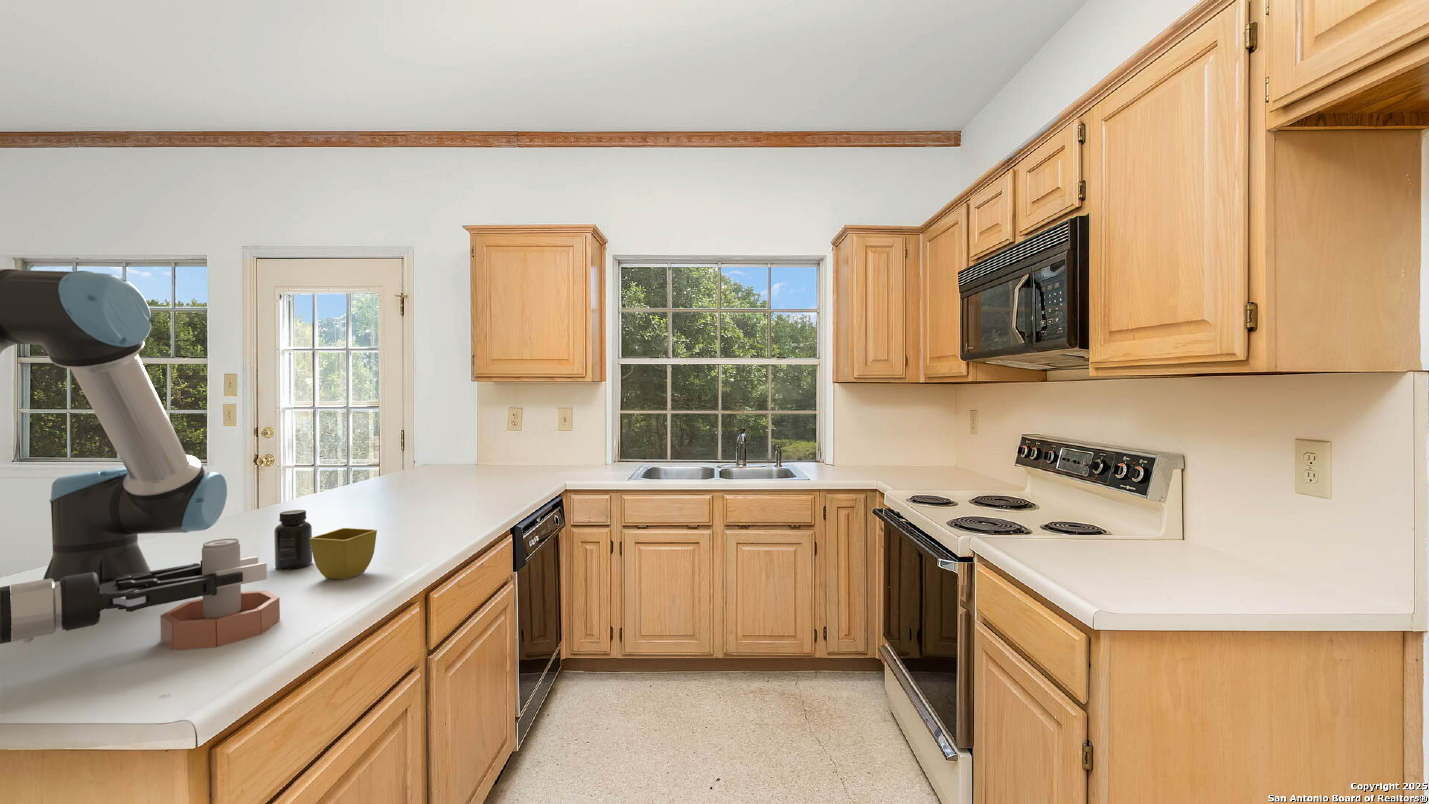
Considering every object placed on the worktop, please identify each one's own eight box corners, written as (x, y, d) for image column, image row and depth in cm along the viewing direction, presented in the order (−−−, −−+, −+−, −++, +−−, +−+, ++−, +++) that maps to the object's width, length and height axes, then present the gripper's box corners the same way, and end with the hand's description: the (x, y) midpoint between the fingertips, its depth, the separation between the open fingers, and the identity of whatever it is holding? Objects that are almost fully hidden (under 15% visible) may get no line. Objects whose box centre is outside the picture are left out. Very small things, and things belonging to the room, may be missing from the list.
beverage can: (217, 610, 101) (216, 538, 101) (248, 609, 101) (247, 538, 101) (195, 621, 96) (193, 546, 96) (227, 620, 97) (226, 545, 96)
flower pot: (346, 584, 122) (345, 539, 121) (309, 581, 123) (308, 537, 123) (378, 571, 130) (378, 529, 130) (343, 568, 132) (343, 527, 132)
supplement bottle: (319, 563, 136) (319, 509, 136) (289, 571, 130) (288, 516, 129) (297, 560, 138) (296, 507, 138) (267, 568, 132) (266, 513, 132)
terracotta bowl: (141, 652, 91) (140, 625, 91) (201, 617, 104) (200, 594, 104) (246, 644, 93) (246, 619, 93) (292, 611, 107) (291, 589, 107)
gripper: (56, 615, 91) (249, 578, 109) (62, 649, 79) (276, 601, 97) (55, 565, 91) (248, 536, 108) (60, 592, 79) (276, 555, 97)
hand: (261, 567), depth 103 cm, fingers closed on beverage can, 5 cm apart
